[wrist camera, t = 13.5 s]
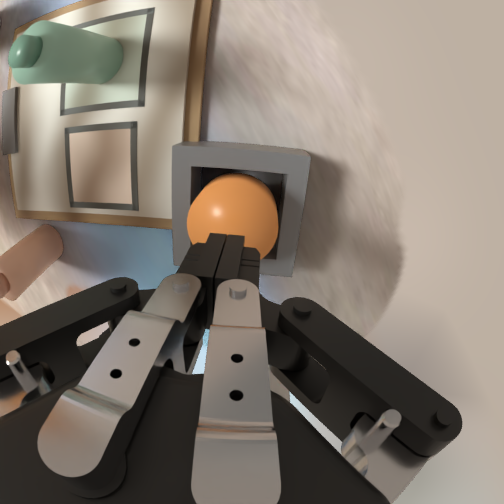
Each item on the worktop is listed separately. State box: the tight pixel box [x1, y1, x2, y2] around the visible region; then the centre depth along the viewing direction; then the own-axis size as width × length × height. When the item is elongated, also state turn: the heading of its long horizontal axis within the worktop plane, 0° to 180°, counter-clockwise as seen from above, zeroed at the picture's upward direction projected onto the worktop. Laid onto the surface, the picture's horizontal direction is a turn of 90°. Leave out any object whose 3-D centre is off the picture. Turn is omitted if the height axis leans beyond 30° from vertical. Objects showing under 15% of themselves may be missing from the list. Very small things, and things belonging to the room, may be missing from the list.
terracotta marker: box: [0, 224, 63, 301], centre depth 19 cm, size 4×4×8 cm
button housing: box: [172, 141, 311, 277], centre depth 19 cm, size 8×8×3 cm
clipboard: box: [2, 0, 213, 229], centre depth 16 cm, size 19×19×1 cm
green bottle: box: [8, 20, 123, 85], centre depth 11 cm, size 4×4×8 cm
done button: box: [187, 173, 278, 260], centre depth 17 cm, size 5×5×2 cm
